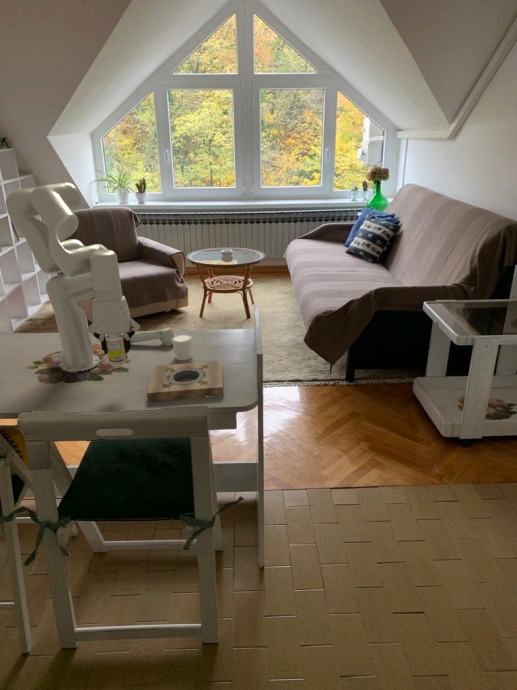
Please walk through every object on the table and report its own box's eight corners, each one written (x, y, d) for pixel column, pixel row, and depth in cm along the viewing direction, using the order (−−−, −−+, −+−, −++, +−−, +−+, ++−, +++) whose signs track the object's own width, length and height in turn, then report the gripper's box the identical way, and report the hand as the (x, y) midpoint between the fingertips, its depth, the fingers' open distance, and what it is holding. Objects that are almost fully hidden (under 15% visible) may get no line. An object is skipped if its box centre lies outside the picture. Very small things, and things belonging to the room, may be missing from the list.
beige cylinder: (195, 352, 191) (193, 333, 188) (191, 361, 184) (189, 342, 182) (176, 352, 191) (174, 334, 189) (171, 361, 185) (169, 342, 182)
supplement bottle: (120, 354, 168) (115, 323, 164) (131, 359, 165) (127, 328, 160) (105, 360, 164) (100, 329, 160) (116, 366, 161) (111, 334, 157)
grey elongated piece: (110, 332, 202) (175, 322, 198) (115, 349, 204) (179, 339, 201) (105, 338, 197) (172, 328, 193) (111, 355, 200) (177, 345, 196)
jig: (148, 402, 160) (146, 393, 159) (154, 374, 177) (153, 366, 175) (223, 396, 161) (222, 387, 160) (222, 369, 178) (221, 360, 176)
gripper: (74, 300, 152) (85, 358, 159) (137, 297, 153) (144, 355, 160) (80, 291, 159) (90, 347, 166) (140, 288, 160) (147, 344, 167)
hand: (117, 350), depth 163 cm, fingers closed on supplement bottle, 5 cm apart
